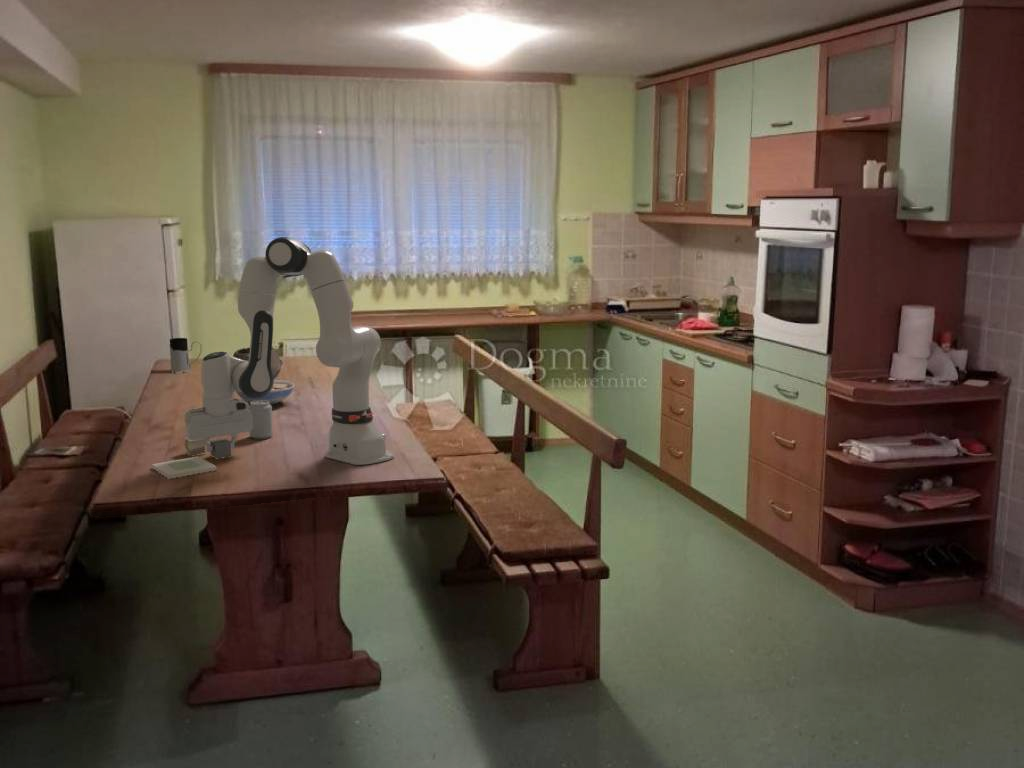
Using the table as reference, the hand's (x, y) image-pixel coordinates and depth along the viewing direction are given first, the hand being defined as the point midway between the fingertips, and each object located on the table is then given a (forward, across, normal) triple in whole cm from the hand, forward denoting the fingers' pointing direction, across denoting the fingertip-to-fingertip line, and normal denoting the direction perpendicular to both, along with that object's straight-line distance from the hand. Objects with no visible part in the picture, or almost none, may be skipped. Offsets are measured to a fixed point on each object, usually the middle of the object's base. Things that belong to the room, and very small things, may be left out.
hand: (220, 449), depth 292 cm
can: (+2, +20, +15) cm, 25 cm away
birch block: (+2, -5, +8) cm, 10 cm away
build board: (+2, -14, -7) cm, 16 cm away
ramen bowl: (+2, +43, +62) cm, 75 cm away
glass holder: (+2, +45, +150) cm, 157 cm away
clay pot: (+2, +58, +103) cm, 118 cm away
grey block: (+2, 0, 0) cm, 2 cm away
